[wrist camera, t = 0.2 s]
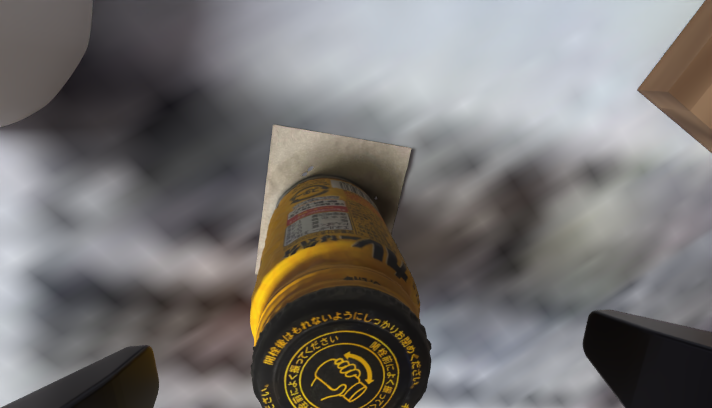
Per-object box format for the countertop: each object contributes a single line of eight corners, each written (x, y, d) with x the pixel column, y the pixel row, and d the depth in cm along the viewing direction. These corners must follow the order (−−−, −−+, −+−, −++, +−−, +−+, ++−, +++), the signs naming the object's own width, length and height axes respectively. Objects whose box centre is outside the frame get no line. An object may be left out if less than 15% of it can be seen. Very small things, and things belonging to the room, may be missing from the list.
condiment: (255, 272, 23) (207, 468, 12) (273, 124, 20) (235, 190, 9) (378, 285, 24) (444, 474, 13) (410, 146, 22) (525, 230, 10)
